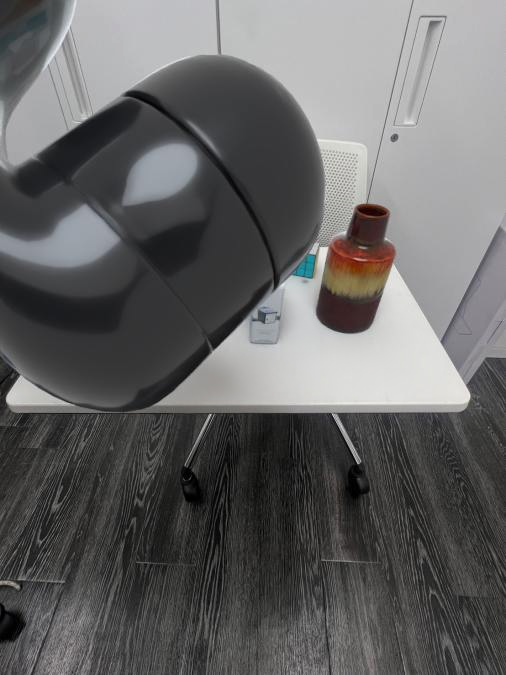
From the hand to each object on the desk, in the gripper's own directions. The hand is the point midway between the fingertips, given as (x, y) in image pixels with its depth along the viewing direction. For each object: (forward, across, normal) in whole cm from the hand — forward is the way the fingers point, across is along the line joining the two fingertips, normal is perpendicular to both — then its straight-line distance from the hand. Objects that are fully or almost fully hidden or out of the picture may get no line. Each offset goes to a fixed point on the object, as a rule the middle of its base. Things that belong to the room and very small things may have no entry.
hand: (164, 330), depth 42 cm
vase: (+15, -34, +3) cm, 37 cm away
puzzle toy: (+27, -33, -10) cm, 44 cm away
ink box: (+16, -18, +2) cm, 24 cm away
